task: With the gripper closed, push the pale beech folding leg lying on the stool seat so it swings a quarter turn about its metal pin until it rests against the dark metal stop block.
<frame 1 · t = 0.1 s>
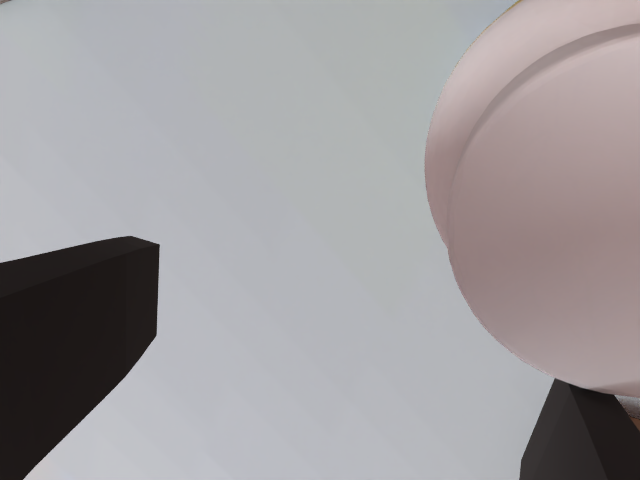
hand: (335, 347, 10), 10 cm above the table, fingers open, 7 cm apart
pill bottle: (575, 91, 17), on the table, touching gripper
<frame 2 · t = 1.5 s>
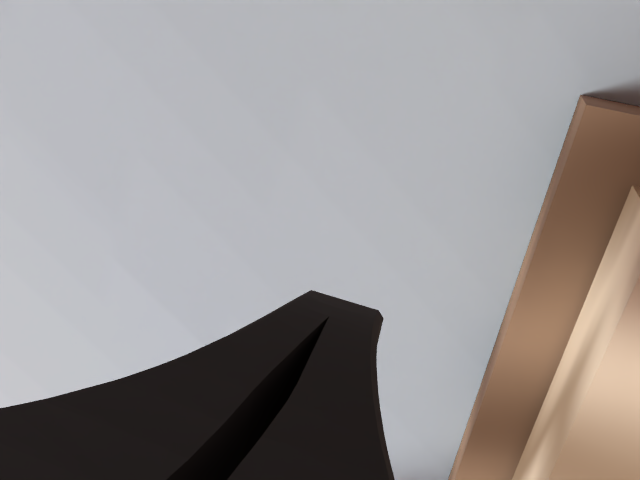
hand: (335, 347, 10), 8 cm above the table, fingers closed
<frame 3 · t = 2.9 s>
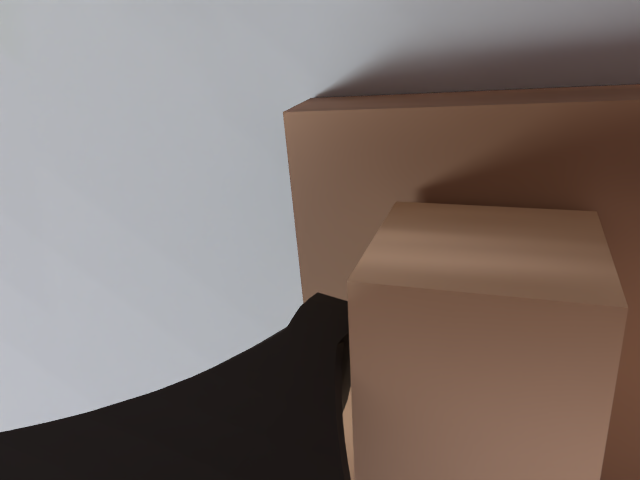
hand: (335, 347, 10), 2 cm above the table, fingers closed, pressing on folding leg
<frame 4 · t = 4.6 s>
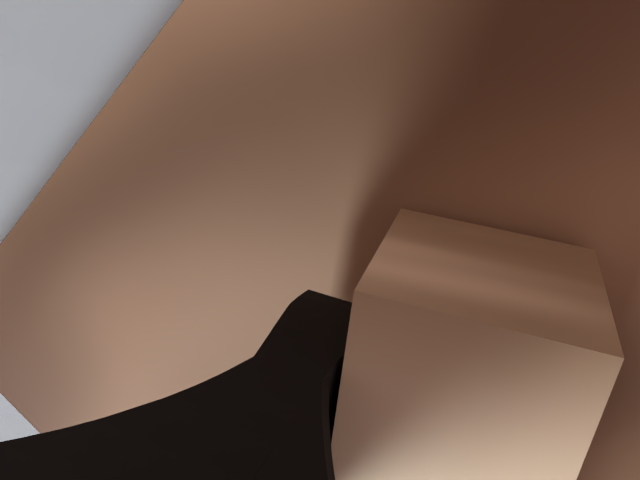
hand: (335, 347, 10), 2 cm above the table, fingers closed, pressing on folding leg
stool seat: (441, 419, 13), on the table
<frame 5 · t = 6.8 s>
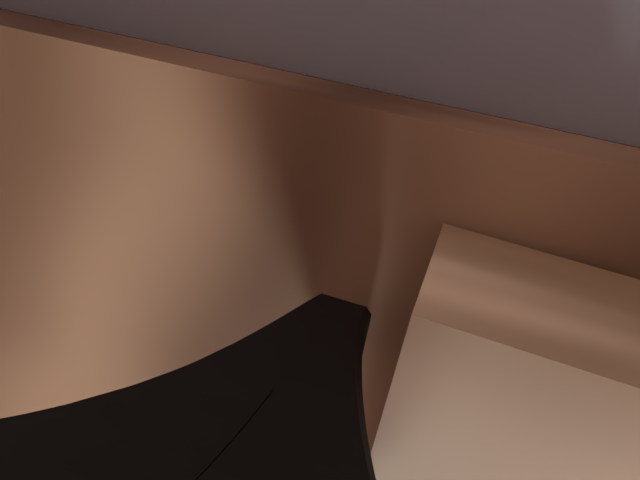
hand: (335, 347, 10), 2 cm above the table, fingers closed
stool seat: (254, 415, 15), on the table
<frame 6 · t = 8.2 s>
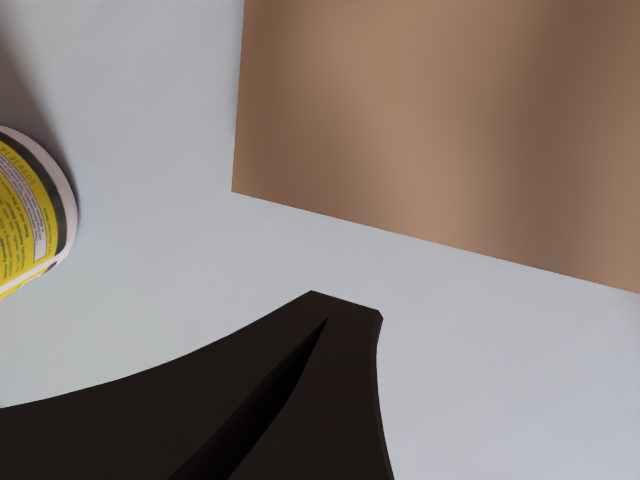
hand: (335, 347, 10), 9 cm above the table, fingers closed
pill bottle: (23, 196, 24), on the table
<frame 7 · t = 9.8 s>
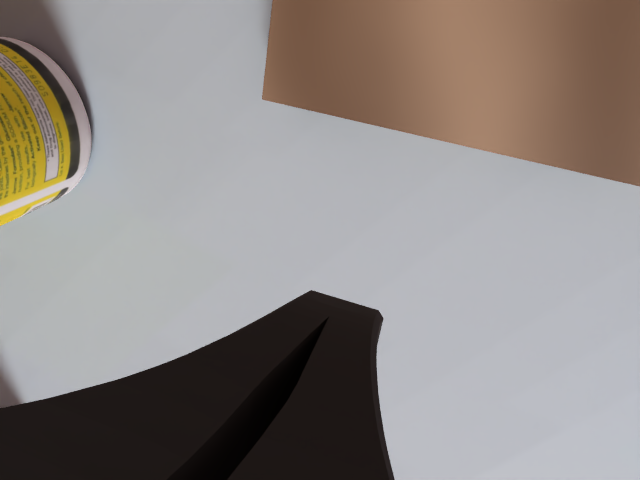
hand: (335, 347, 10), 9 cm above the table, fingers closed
pill bottle: (32, 120, 22), on the table
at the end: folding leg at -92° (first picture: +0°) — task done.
